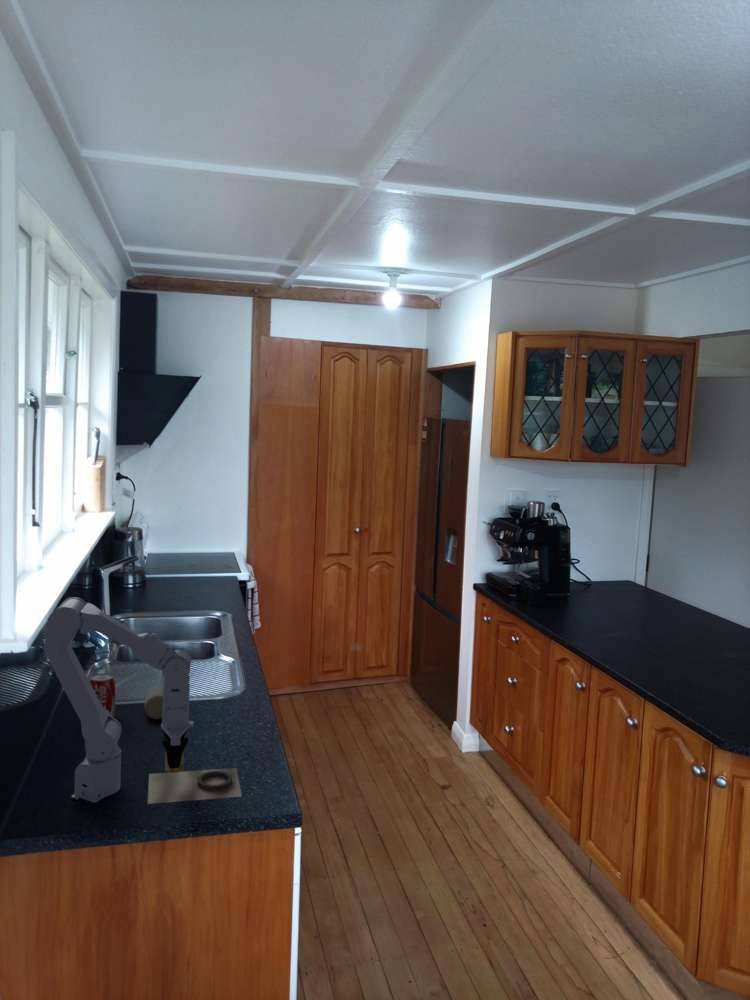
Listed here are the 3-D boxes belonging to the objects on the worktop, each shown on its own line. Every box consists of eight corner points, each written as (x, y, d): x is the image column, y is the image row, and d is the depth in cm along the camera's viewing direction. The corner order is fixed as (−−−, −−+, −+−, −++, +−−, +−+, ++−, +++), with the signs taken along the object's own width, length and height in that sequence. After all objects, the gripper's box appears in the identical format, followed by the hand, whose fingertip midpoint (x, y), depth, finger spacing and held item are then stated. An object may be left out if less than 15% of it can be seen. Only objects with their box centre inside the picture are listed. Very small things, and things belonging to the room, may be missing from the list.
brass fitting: (183, 772, 172) (184, 755, 172) (164, 773, 171) (165, 756, 171) (183, 764, 176) (183, 747, 175) (164, 765, 175) (165, 748, 174)
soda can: (86, 725, 207) (86, 681, 205) (88, 715, 213) (89, 673, 212) (114, 723, 209) (114, 680, 207) (115, 713, 215) (116, 672, 214)
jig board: (147, 808, 166) (147, 798, 166) (149, 778, 179) (149, 769, 179) (241, 800, 171) (242, 791, 171) (236, 772, 184) (236, 763, 184)
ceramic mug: (143, 721, 211) (144, 694, 210) (144, 710, 219) (145, 684, 218) (183, 720, 214) (185, 693, 213) (183, 709, 222) (184, 683, 221)
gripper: (195, 716, 166) (193, 776, 167) (193, 692, 180) (191, 748, 181) (161, 717, 164) (159, 778, 166) (161, 693, 178) (160, 749, 179)
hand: (174, 763), depth 173 cm, fingers closed on brass fitting, 4 cm apart
